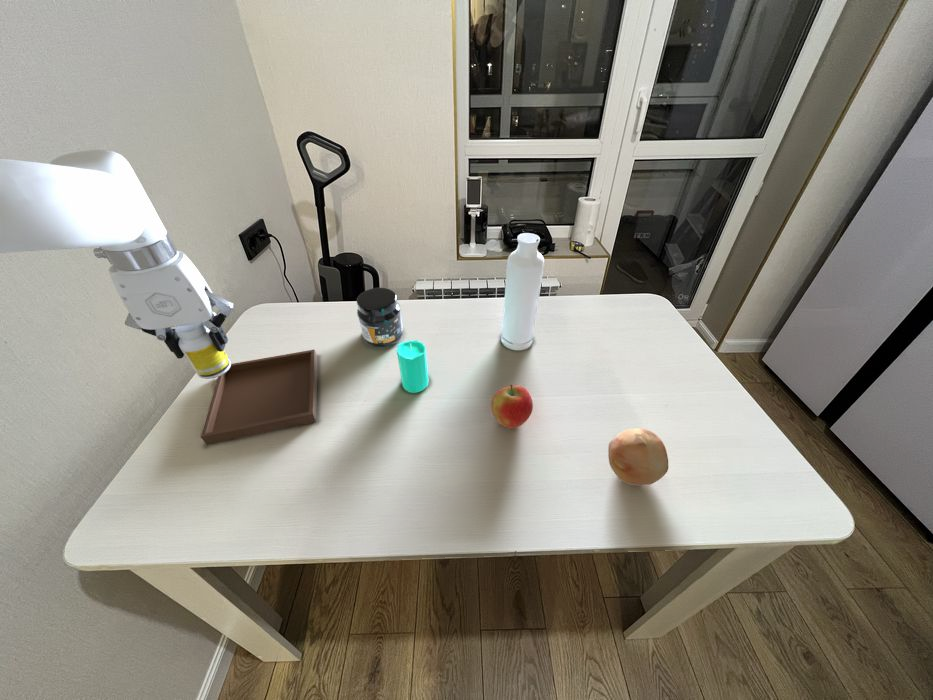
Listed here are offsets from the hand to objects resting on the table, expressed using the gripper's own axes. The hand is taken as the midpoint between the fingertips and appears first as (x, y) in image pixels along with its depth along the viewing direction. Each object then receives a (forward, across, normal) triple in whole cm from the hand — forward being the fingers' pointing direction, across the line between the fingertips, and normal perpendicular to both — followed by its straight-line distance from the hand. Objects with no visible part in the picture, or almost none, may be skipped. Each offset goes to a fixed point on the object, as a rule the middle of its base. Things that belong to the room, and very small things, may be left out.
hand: (202, 348), depth 64 cm
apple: (+21, +52, -14) cm, 58 cm away
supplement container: (+21, +30, +21) cm, 42 cm away
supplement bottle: (+5, 0, 0) cm, 5 cm away
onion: (+21, +69, -31) cm, 79 cm away
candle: (+21, +35, +2) cm, 41 cm away
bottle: (+21, +63, +10) cm, 67 cm away
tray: (+20, +3, +7) cm, 22 cm away
